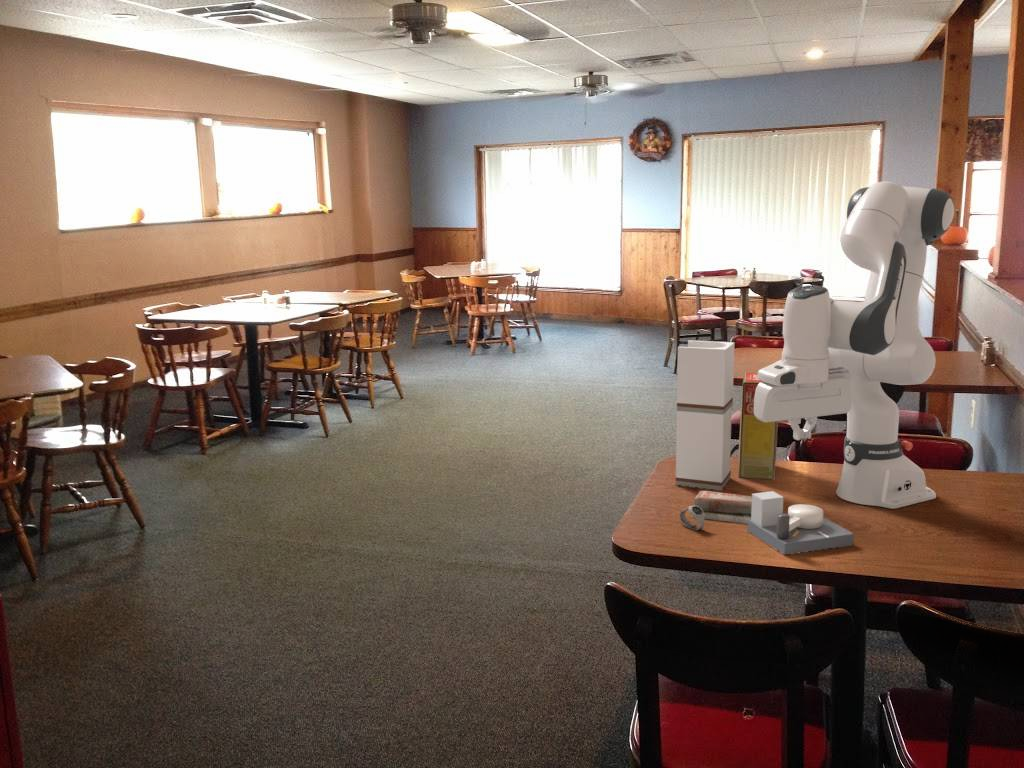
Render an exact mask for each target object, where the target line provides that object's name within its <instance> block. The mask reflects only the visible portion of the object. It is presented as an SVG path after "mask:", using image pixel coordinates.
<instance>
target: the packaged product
mask: <svg viewBox="0 0 1024 768" xmlns="http://www.w3.org/2000/svg"><path fill="white" fill-rule="evenodd" d="M693 500H694V502H693V503H694V506H698V507H699V508H701V509H702V511H703V513H704V520H712V521H720V522H727V521H728V522H727V523H737V524H743V525H744V524H745V525H748V520H751V510H752V495H743V494H735V493H727V492H726V493H725V492H718V491H710V490H700V491H699V492H698V494H696V496H695V497H694V499H693ZM690 515H691V514H690ZM691 518H695V517H693V516H692V515H691ZM695 519H696V518H695Z"/></svg>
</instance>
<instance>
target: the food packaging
mask: <svg viewBox="0 0 1024 768" xmlns="http://www.w3.org/2000/svg"><path fill="white" fill-rule="evenodd" d="M760 382H762V381H761V380H759V379H758V372H756V371H755V372H753V371H750V372H749V371H748V372H746V371H745V372H744V373H743V378H742V384H741V385H742V388H741V405H740V420H739V437H738V475H737V476H738V478H741V477H747V478H746V479H758V478H761V479H762V480H775V474H776V461H777V460H776V458H777V445H778V425H779V421H775V422H763V421H760V420H758V419H757V418H756V417H755V415H754V397H755V391H756V387H757V385H758V384H759V383H760ZM761 479H760V480H761Z"/></svg>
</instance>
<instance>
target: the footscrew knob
mask: <svg viewBox="0 0 1024 768" xmlns="http://www.w3.org/2000/svg"><path fill="white" fill-rule="evenodd" d="M823 517H824V510H823V509H822V508H821V507H819V506H816V505H812V504H803V503H799V504H791V505H790V506H789V507H788V509H787V513H779V514H777V537H778V538H783V539H785V538H789V531H791V530H792V529H794V528H796V527H798V528H805V529H814V528H819V527H821V526H822V525H823Z"/></svg>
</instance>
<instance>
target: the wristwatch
mask: <svg viewBox="0 0 1024 768" xmlns="http://www.w3.org/2000/svg"><path fill="white" fill-rule="evenodd" d="M687 511H688V512H689V514H690V515H692V516H693V517H692V516H691V517H692V518H694V517H695V519H696V520H697V521H698V522H697V523H698V526H697V524H693V523H692V522H691V521H689V520H688V519H687V518H686V516H685V515H686V514H685V513H686V512H687ZM679 519H680V522H681V524H682V525H683V526H684V527H685V528H688V529H690V530H694V531H700V530H702V529H704V527H705V524H706V523H705V521H706V519H704V513H703V511H702V509H701V508H699V507H698V506H695V505H689V506H687V507H686V508H685V509H683V510H681V512H680V513H679Z"/></svg>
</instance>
